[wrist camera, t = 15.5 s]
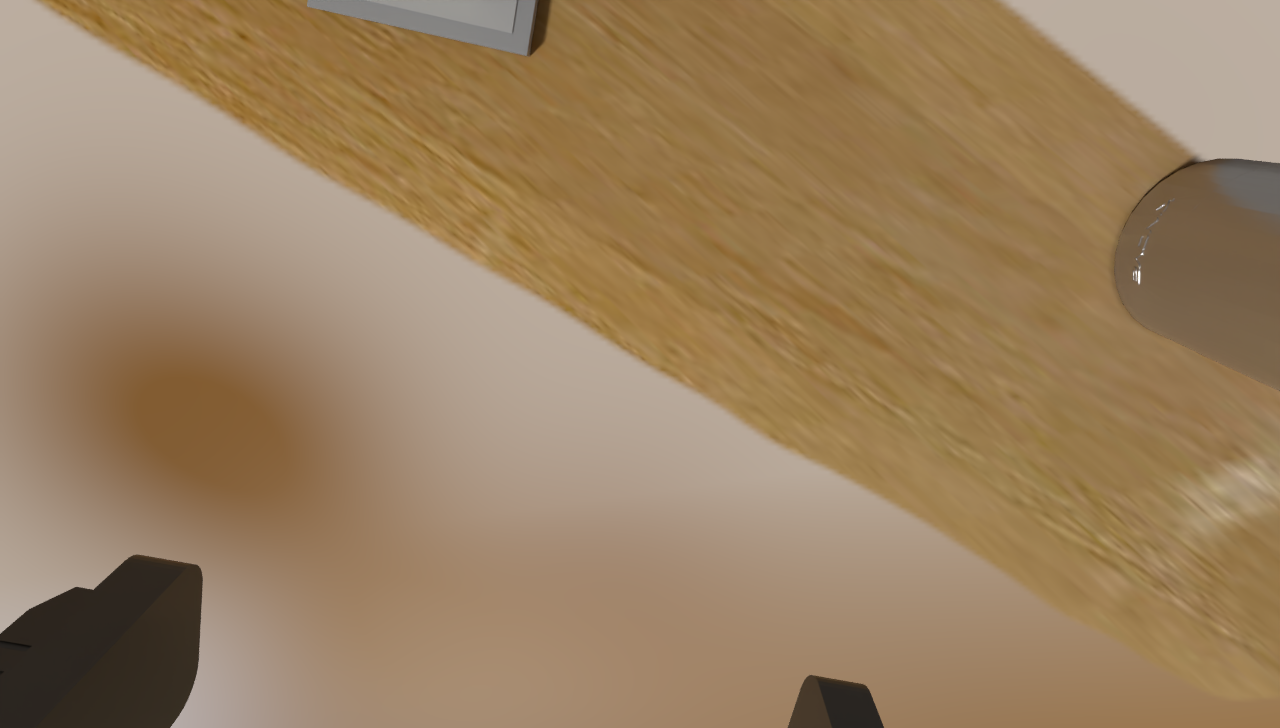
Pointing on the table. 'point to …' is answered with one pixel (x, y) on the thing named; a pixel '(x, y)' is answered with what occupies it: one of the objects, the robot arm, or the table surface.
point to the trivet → (450, 19)
